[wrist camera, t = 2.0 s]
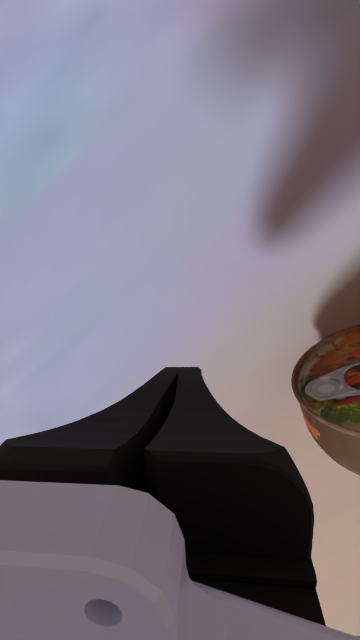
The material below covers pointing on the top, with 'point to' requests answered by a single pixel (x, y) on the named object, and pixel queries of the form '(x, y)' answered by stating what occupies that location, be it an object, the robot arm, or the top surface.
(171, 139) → the top surface
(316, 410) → the tin
